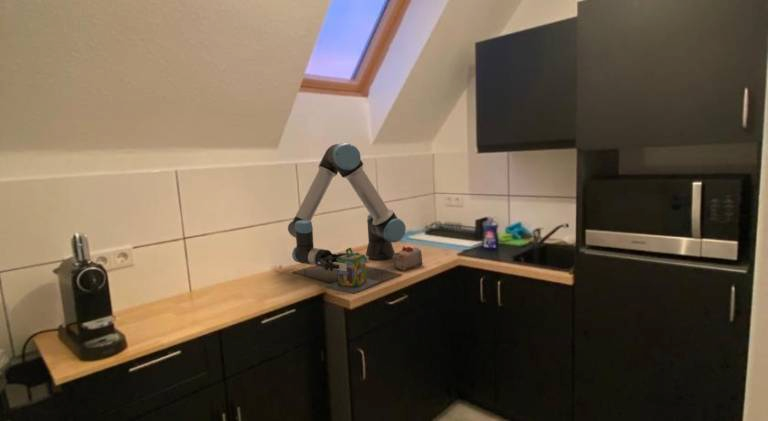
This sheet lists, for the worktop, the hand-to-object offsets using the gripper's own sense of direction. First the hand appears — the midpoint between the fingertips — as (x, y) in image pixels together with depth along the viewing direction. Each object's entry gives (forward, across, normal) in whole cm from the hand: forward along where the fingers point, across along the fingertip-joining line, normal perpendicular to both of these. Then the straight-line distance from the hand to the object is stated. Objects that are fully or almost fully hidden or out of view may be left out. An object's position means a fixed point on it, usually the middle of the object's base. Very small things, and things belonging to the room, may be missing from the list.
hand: (357, 263), depth 172 cm
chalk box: (-3, 0, -9) cm, 10 cm away
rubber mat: (-3, 0, -10) cm, 10 cm away
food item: (+1, -33, -10) cm, 35 cm away
